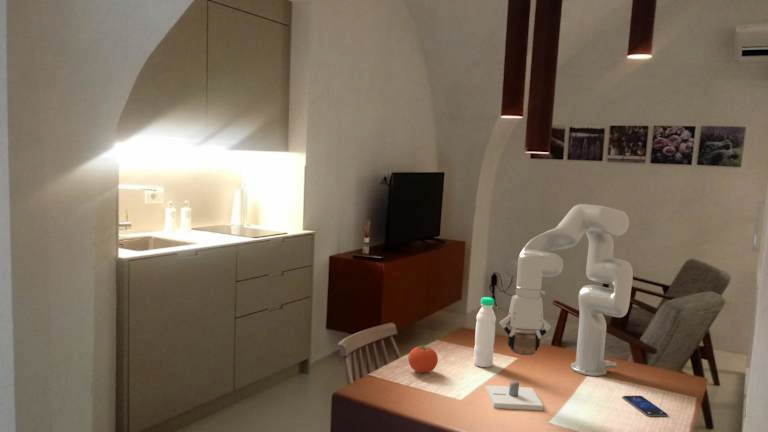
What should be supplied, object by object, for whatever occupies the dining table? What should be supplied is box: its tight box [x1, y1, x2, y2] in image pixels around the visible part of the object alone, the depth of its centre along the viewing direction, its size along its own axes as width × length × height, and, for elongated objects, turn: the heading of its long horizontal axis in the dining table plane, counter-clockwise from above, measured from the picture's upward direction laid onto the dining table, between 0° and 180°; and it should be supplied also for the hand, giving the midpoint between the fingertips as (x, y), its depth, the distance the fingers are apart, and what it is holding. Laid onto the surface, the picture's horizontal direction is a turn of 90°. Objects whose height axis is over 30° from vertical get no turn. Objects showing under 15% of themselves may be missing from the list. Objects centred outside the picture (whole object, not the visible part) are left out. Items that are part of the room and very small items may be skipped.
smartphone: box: [621, 395, 669, 418], centre depth 187 cm, size 7×1×15 cm
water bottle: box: [472, 296, 497, 368], centre depth 216 cm, size 7×7×25 cm
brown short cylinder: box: [510, 329, 536, 356], centre depth 185 cm, size 7×7×6 cm
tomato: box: [408, 344, 439, 374], centre depth 206 cm, size 10×10×10 cm
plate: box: [485, 380, 544, 411], centre depth 186 cm, size 15×14×6 cm
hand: (523, 348), depth 186 cm, fingers closed on brown short cylinder, 6 cm apart
